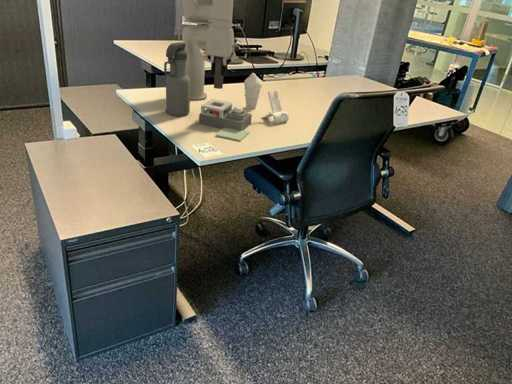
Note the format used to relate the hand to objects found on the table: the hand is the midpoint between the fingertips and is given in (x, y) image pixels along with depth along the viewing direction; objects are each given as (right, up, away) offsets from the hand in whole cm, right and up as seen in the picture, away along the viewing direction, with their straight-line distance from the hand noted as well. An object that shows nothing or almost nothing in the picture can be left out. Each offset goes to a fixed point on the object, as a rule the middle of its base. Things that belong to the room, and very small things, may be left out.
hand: (218, 74), depth 163 cm
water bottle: (-19, -13, +14) cm, 27 cm away
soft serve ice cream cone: (+12, -7, +31) cm, 34 cm away
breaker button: (-2, -15, +8) cm, 17 cm away
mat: (+5, -24, -2) cm, 24 cm away
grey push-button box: (+2, -18, +8) cm, 20 cm away
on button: (+7, -14, +5) cm, 17 cm away
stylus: (-1, -5, +2) cm, 5 cm away
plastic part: (+22, -15, +18) cm, 32 cm away
